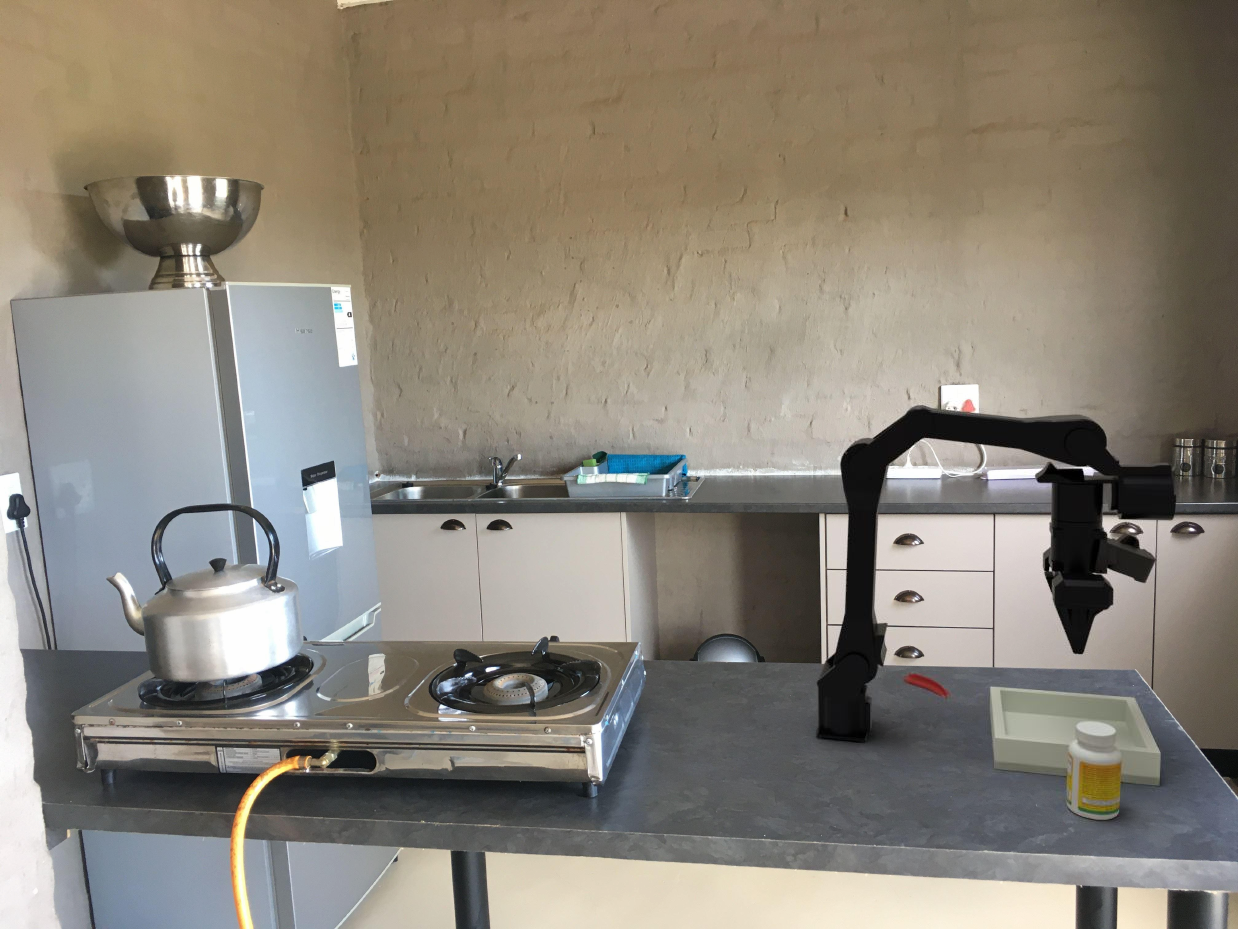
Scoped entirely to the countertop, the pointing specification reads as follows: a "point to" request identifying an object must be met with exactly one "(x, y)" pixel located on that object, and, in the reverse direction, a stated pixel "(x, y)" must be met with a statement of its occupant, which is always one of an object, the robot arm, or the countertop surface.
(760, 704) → the countertop surface
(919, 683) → the cayenne pepper
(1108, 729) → the supplement bottle
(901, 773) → the countertop surface
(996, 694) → the tray
